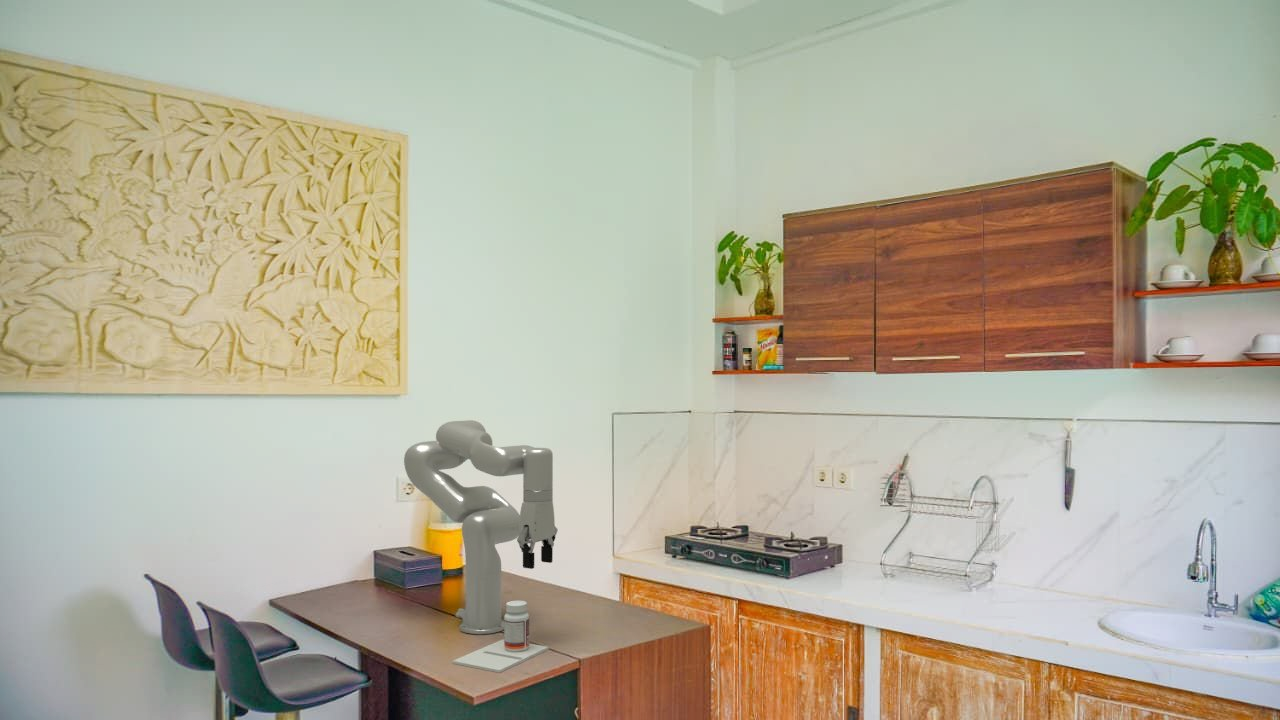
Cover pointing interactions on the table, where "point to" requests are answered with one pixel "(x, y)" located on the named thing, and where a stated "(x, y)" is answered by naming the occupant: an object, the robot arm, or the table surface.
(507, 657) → the mat
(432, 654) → the table surface
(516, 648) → the pill bottle
